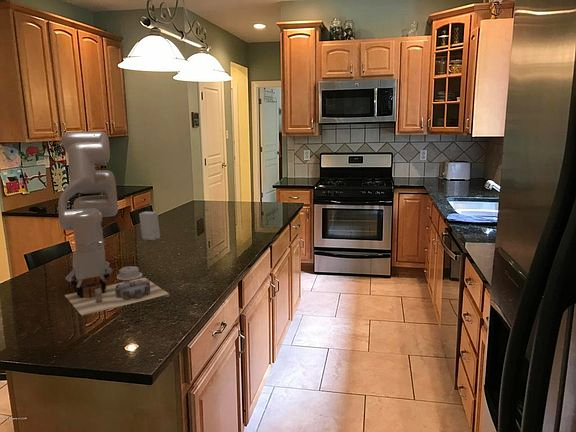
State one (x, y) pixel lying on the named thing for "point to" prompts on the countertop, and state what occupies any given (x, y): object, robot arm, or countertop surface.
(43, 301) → the countertop surface
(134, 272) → the mechanical component
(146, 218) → the skincare box
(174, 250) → the countertop surface
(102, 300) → the gear board
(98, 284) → the walnut gear
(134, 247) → the countertop surface
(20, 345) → the countertop surface
